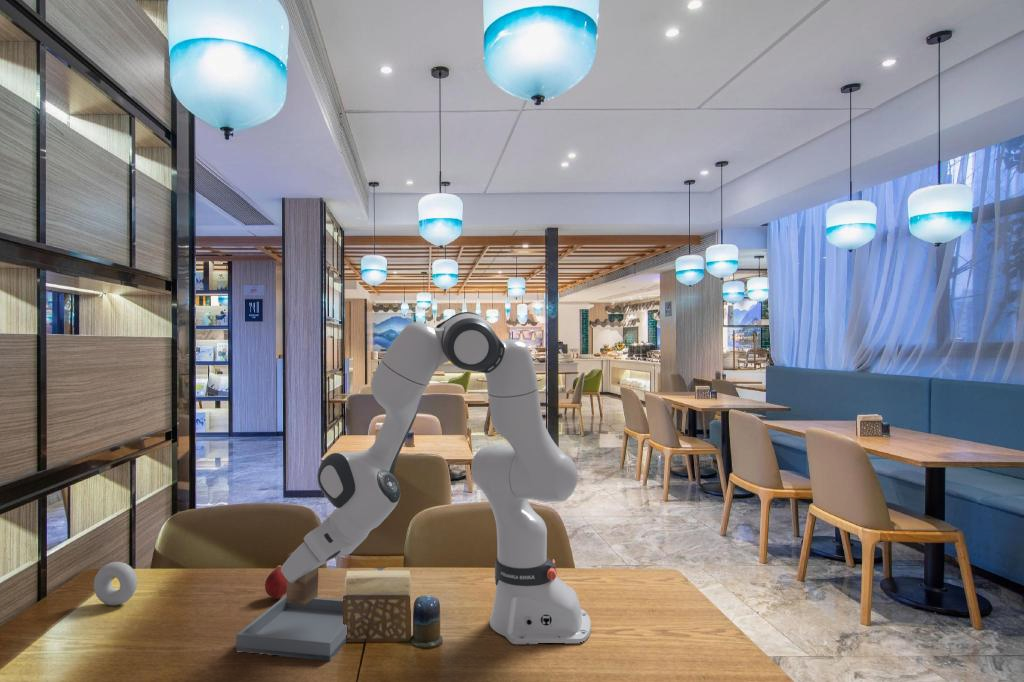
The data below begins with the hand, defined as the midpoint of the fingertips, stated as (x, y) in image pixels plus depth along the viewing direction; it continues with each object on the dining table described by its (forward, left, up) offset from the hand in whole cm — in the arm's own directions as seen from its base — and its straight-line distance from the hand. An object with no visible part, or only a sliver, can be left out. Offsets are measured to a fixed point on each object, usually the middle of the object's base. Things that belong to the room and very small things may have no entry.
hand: (300, 574), depth 119 cm
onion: (+13, -14, -13) cm, 23 cm away
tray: (-2, 0, -12) cm, 12 cm away
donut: (+49, -5, -13) cm, 51 cm away
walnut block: (-1, 0, -5) cm, 5 cm away
